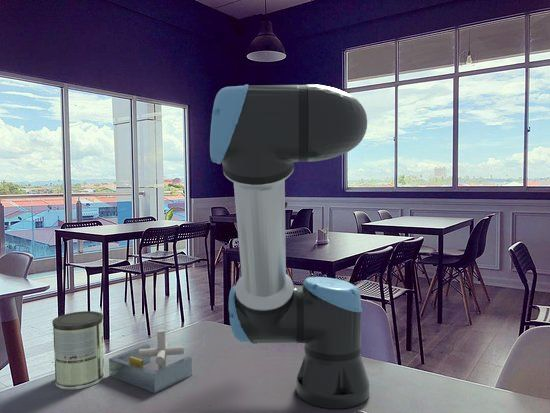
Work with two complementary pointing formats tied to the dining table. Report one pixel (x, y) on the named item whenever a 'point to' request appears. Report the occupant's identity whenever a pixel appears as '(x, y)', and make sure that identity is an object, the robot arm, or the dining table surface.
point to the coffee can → (78, 349)
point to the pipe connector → (161, 350)
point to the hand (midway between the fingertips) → (262, 264)
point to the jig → (147, 371)
